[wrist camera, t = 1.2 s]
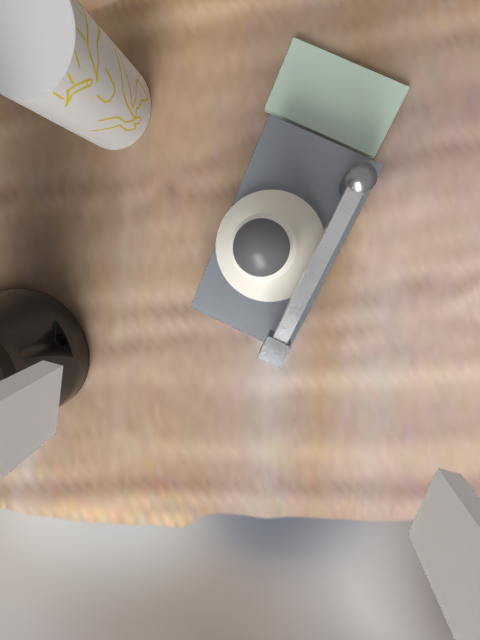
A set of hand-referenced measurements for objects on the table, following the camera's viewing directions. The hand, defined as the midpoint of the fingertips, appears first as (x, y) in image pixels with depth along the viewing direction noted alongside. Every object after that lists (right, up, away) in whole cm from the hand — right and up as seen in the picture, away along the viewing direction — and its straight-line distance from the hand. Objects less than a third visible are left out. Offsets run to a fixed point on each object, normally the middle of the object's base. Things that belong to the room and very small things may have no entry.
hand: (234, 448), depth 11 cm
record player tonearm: (+6, +9, +17) cm, 20 cm away
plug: (+3, +12, +22) cm, 25 cm away
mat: (+9, +24, +19) cm, 32 cm away
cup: (-13, +26, +22) cm, 36 cm away
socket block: (+4, +12, +22) cm, 26 cm away
